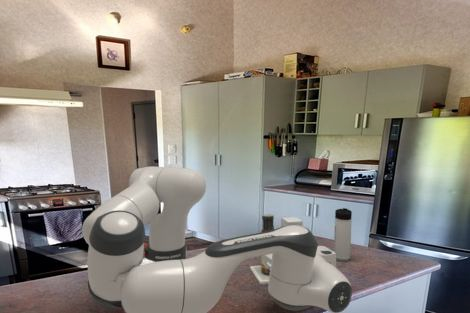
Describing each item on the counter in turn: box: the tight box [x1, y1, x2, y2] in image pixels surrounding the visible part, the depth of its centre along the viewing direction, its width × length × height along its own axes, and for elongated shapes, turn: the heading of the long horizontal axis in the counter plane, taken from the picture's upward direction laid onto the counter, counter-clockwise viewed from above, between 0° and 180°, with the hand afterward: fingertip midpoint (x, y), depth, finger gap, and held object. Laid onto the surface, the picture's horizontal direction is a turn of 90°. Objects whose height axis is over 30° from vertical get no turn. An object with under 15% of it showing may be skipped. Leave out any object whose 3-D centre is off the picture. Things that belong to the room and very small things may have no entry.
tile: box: [249, 264, 270, 285], centre depth 106 cm, size 12×12×1 cm
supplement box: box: [280, 216, 304, 227], centre depth 132 cm, size 7×7×13 cm
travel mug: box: [333, 207, 353, 262], centre depth 120 cm, size 6×7×20 cm
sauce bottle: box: [260, 213, 275, 274], centre depth 106 cm, size 7×6×20 cm
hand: (286, 247), depth 93 cm, fingers open, 8 cm apart
